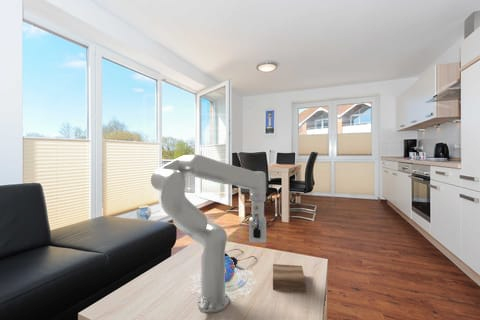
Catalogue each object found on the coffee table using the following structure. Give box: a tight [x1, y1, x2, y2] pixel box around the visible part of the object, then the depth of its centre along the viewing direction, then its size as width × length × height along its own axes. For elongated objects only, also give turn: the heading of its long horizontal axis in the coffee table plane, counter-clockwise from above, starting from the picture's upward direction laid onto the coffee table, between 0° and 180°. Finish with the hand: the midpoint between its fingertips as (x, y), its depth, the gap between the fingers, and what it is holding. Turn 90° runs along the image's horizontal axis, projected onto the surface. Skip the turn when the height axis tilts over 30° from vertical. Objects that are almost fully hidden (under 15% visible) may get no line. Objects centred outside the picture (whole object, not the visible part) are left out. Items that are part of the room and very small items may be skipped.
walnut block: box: [272, 263, 307, 293], centre depth 105 cm, size 14×14×5 cm
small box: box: [248, 216, 267, 244], centre depth 107 cm, size 8×6×10 cm
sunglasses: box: [225, 248, 257, 268], centre depth 128 cm, size 14×16×5 cm
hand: (257, 234), depth 107 cm, fingers closed on small box, 5 cm apart
